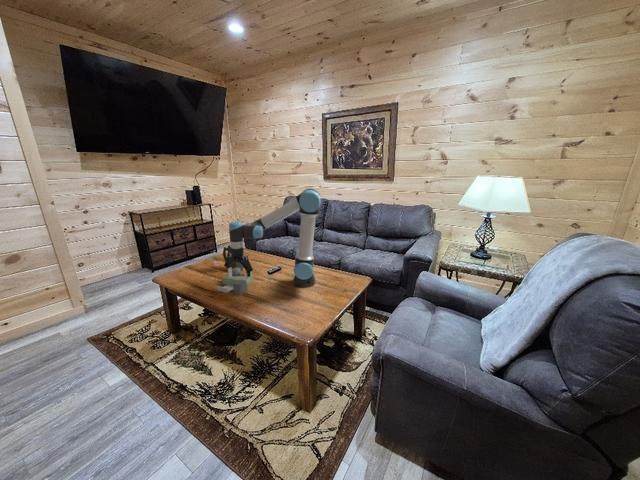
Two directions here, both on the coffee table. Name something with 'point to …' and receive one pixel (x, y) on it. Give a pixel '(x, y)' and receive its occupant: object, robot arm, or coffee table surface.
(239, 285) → the tall grey cuboid
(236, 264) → the beer stein
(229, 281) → the green base with dome
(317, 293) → the coffee table surface
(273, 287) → the coffee table surface
